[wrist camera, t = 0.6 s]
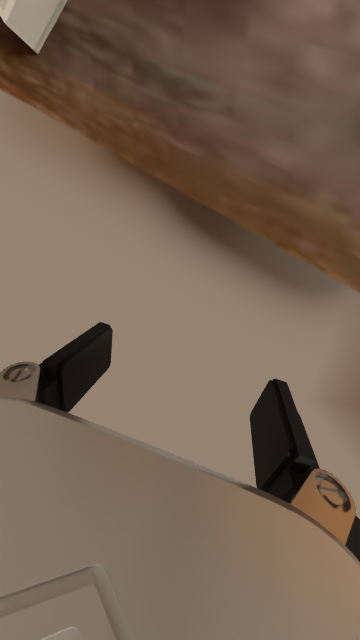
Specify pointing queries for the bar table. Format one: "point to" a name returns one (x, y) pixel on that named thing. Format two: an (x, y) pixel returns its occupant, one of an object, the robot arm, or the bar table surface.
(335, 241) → the bar table surface
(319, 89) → the bar table surface
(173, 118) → the bar table surface
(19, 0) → the walled box
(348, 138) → the bar table surface
